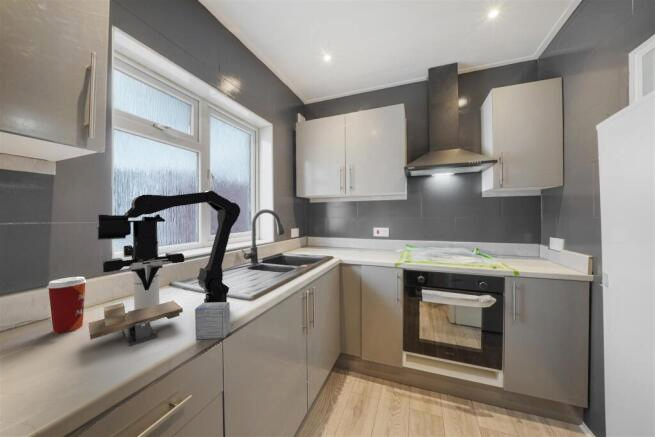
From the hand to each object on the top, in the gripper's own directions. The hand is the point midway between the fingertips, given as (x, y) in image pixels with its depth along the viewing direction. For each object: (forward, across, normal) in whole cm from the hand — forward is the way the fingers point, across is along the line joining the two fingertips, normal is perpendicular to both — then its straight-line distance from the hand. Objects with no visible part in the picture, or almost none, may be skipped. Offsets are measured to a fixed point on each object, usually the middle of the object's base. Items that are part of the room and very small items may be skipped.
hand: (146, 290), depth 69 cm
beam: (+9, +2, 0) cm, 10 cm away
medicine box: (+12, -12, +18) cm, 25 cm away
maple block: (+7, +7, 0) cm, 10 cm away
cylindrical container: (+12, -3, -18) cm, 22 cm away
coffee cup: (+12, +16, -20) cm, 28 cm away
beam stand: (+12, +2, 0) cm, 12 cm away
